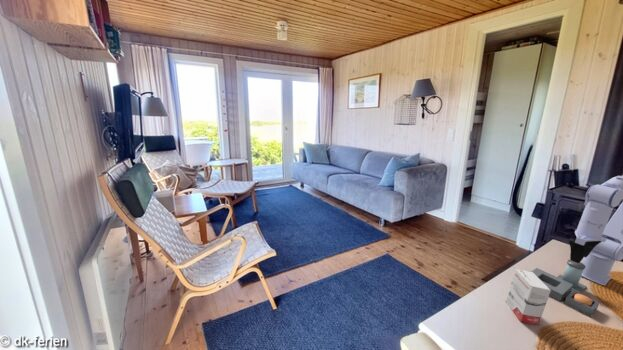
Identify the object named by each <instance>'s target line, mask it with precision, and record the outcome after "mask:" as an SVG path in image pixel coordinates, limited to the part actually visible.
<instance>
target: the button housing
mask: <svg viewBox="0 0 623 350" xmlns="http://www.w3.org/2000/svg"><path fill="white" fill-rule="evenodd" d="M575 294H581V293H578V292H576V291H574V290H573V291H572V290H571V291H570V292H569V293H568V294H567V295H566V296H565V297H566V298H565V300H564V305H567V306H569V307H571V308H572V309H574V310H576V311H578V312H581V313H583V314H584V315H586V316H588V317H590V318H591V317H592V316H593V315H594V313H595V312H596V311H597V309H598V308H599V306H600V302H599V301H597V300H595V299H592V298H590V297H588V296H587V297H588V298H590V299H591V300H592V301H593V302H592V304H591V307H589V306H587V305H585V304H583V303H581V302H579V301H577V300H575V299H574V296H575Z"/></svg>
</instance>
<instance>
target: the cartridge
mask: <svg viewBox="0 0 623 350" xmlns="http://www.w3.org/2000/svg"><path fill="white" fill-rule="evenodd" d="M581 262H582V261H581ZM581 262H580V263H576V262H574V261H571V260H570V259H567V261H566V266H565V268H564V272H563V274H562V276H563V278H562V280H565V281H567V282H569V283H571V284H573V287H577V286H578V283H580V280H581V278H582V276H581V275H582V272H583V270H584V269H585V267H586V266H585V265H584V264H583V263H581Z"/></svg>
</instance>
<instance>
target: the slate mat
mask: <svg viewBox="0 0 623 350" xmlns="http://www.w3.org/2000/svg"><path fill="white" fill-rule="evenodd" d="M557 277H558V278H560V279H562V278H563V274H558V276H557ZM586 288H587V285H584V284H582V283H580V282H579V283H578V286H577V287H572V289H571V292H572V291H573V290H574V291H576V292H578V293H580V294H582V292H583V291H585V289H586Z"/></svg>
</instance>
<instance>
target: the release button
mask: <svg viewBox="0 0 623 350" xmlns="http://www.w3.org/2000/svg"><path fill="white" fill-rule="evenodd" d="M574 299H575V300H577V301H579V302H581V303H583V304H585V305H587V306H589V307H591V304H592V302H593V301H592V300H591V299H592V298H591V299H590V297H589V298H588V296H587V295H584V294H583V293H580V294H575V296H574Z"/></svg>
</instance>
